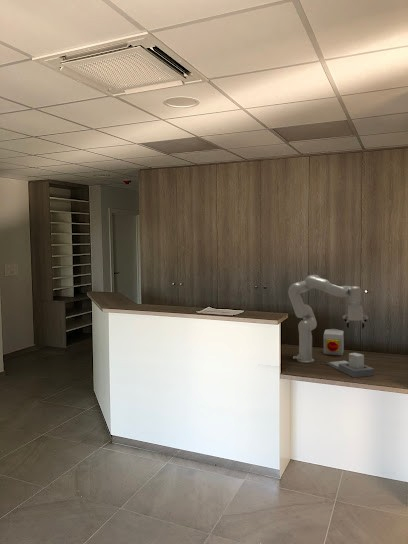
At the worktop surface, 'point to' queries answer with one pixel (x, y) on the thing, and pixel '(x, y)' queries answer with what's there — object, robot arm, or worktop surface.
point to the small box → (356, 361)
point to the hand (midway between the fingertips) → (355, 328)
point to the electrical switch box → (333, 342)
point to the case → (345, 368)
